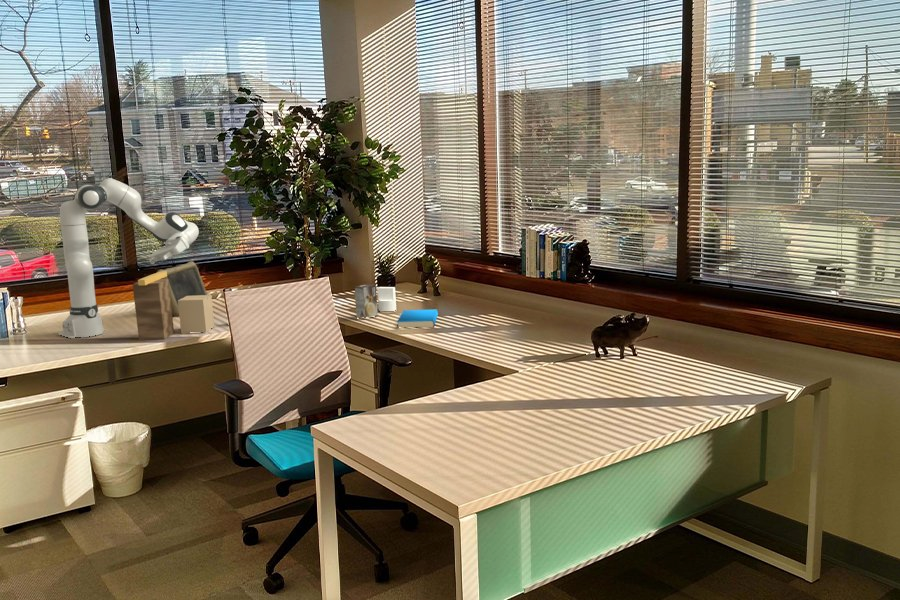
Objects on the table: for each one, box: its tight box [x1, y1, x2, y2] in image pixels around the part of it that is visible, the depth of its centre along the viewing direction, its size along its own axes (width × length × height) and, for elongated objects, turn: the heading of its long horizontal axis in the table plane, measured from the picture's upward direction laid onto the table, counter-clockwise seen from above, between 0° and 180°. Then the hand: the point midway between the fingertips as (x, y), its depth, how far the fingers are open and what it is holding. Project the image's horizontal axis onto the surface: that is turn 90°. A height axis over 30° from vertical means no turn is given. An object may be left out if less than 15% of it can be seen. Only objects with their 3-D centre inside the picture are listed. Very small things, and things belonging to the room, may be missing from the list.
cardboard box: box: [178, 294, 215, 333], centre depth 401 cm, size 12×12×16 cm
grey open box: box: [157, 260, 208, 318], centre depth 452 cm, size 33×14×25 cm, turn 170°
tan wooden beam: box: [137, 271, 167, 285], centre depth 391 cm, size 26×3×2 cm, turn 177°
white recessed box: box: [377, 286, 397, 312], centre depth 430 cm, size 9×9×12 cm
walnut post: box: [132, 279, 175, 341], centre depth 390 cm, size 12×12×26 cm
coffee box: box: [353, 283, 379, 318], centre depth 414 cm, size 9×6×16 cm
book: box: [397, 308, 439, 328], centre depth 400 cm, size 17×4×25 cm
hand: (157, 260), depth 401 cm, fingers open, 8 cm apart
